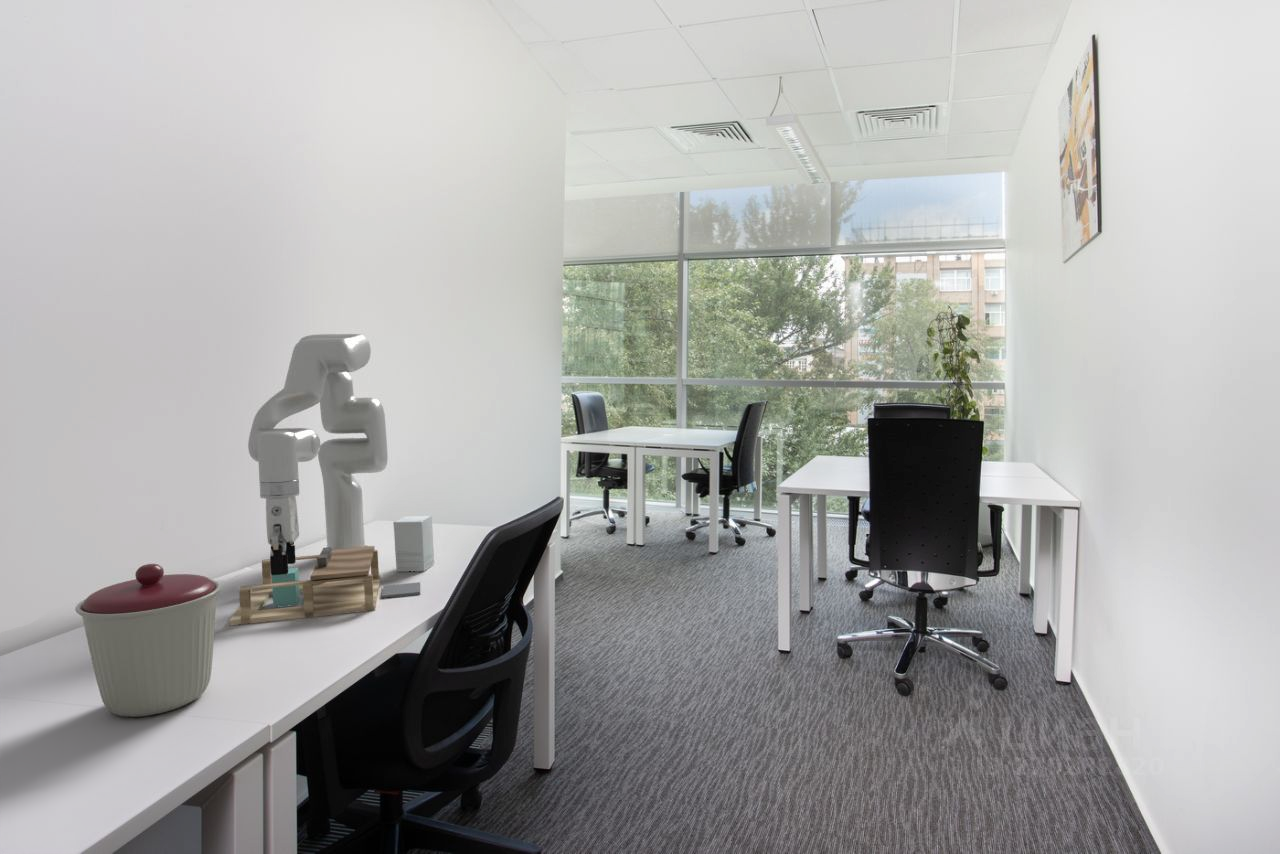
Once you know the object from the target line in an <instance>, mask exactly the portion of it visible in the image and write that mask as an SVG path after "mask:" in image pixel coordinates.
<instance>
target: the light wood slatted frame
mask: <svg viewBox="0 0 1280 854" xmlns="http://www.w3.org/2000/svg"><path fill="white" fill-rule="evenodd" d="M319 555H320V554H316V555H315V554H314V555H305V556H304V555H303V556H295V559H296V561H302V560H304V561H305V560H312V559H316V564H317V563H318V557H319ZM261 571H262V573H261V574H262V584H252V585H243V586H240V587H239V588H238V593H239V607H238V608H237V610H236V611H235V613H233V615H232V616H231V617H230V619H229V620H228V624H229V625H231V626H237V625H238V624H241V625H248V623H250V624H257V623H258V622H259V623H265V622H267V621H269V622H275V621H277V622H278V621H285V620H286V619H287V620H295V619H305V618H313V617H322V616H331V615H332V616H333V614H334V615H340V614H341V615H342V613H343V614H350V612H352V613H360V612H359V611H362V612H368V611H370V610H371V611H376V609H377V608H376V607H377V601H378V597H377V596H378V595H379V590H380V584H381V575H380V571H379V552H378V549H375V550H374V554H373V558H372V562H371V566H370V573H369V575H359V576H349V577H338V578H327V579H317V580H311V579H307V580H306V579H304V580H299V581H293V582H282V583H272V575H271V565H270V558H269V559H262V560H261ZM292 585H299V593H300V594H303V595H302V596H303V605H299V606H298V605H297V606H287V607H277V608H271V609H263V608H264V606H265V604H266V603H267V601H268V600H269V598H270V597H271V596H270V595H273V591H272V587H282V586H292ZM269 596H270V597H269ZM267 599H268V600H267ZM265 602H266V603H265ZM263 605H264V606H263ZM261 608H262V609H261ZM357 611H358V612H357ZM238 626H239V625H238Z"/></svg>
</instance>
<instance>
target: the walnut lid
mask: <svg viewBox="0 0 1280 854" xmlns="http://www.w3.org/2000/svg"><path fill="white" fill-rule="evenodd" d="M375 548H376V547H375V545H366V546H365V547H354V548H342V549H331V547H327V546H326V547H323V548H322V550H321V552H320V554H318V555H319V557H318V563H317V562H316V565H315V566H314V569H313V570H312V572H311V574H310V580H317V579H327V578H338V577H349V576H359V575H369V574H370V572H371V562H372V558H373V554H374V550H376V549H375Z"/></svg>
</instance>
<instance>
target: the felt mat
mask: <svg viewBox="0 0 1280 854" xmlns="http://www.w3.org/2000/svg"><path fill="white" fill-rule="evenodd" d="M420 595H421V581H420V582H408V583H399V584H398V583H397V584H389V585H388V584H387V585H383V587H382V593H381V599H389V598H388V597H391V598H399V597H400V596H401V597H407V596H408V597H409V596H420Z"/></svg>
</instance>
